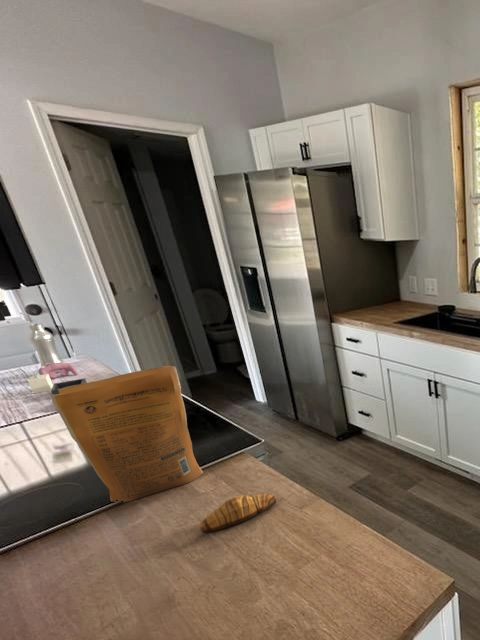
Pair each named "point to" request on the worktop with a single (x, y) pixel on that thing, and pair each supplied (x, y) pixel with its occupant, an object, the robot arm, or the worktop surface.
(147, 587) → the worktop surface
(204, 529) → the croissant
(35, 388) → the charger head
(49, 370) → the video game controller
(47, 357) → the plastic bottle
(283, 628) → the worktop surface
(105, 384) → the pancake mix bag
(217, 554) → the worktop surface
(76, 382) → the adapter
